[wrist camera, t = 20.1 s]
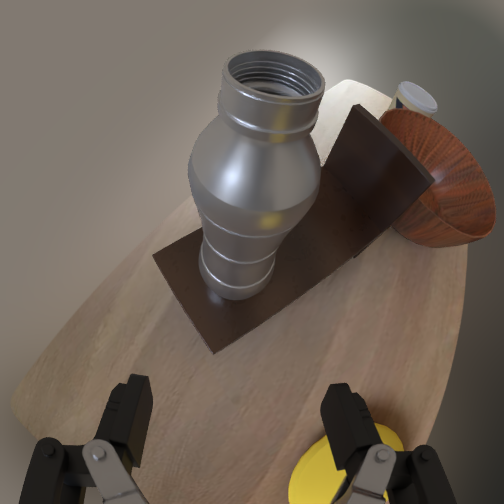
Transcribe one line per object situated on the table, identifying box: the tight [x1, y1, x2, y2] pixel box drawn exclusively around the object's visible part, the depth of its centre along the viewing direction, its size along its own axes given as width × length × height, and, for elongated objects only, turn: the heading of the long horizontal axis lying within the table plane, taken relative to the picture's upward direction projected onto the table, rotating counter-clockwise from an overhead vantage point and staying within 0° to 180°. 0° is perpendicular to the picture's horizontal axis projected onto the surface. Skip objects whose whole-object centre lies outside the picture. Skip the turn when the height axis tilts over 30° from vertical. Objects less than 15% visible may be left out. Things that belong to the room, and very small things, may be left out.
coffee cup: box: [388, 81, 437, 118], centre depth 46 cm, size 9×9×12 cm
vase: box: [288, 423, 404, 504], centre depth 22 cm, size 16×16×7 cm
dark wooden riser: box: [152, 104, 435, 355], centre depth 27 cm, size 24×11×18 cm, turn 125°
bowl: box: [379, 108, 496, 248], centre depth 38 cm, size 25×25×11 cm
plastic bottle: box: [188, 50, 325, 300], centre depth 17 cm, size 6×7×20 cm
